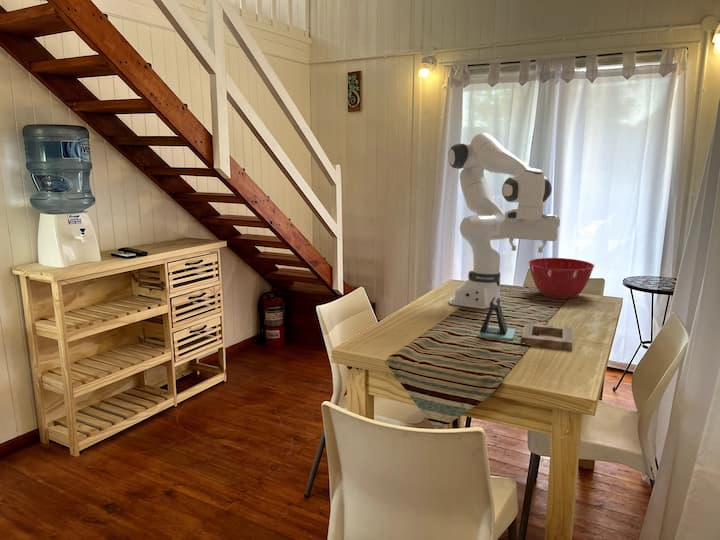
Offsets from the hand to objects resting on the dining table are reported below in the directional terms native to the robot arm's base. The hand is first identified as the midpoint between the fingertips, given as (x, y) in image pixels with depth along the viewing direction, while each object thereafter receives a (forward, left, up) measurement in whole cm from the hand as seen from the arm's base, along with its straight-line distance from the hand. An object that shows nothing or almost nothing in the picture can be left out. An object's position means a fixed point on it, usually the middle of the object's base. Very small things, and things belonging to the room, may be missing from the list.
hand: (526, 251), depth 199 cm
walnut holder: (+9, -14, -28) cm, 33 cm away
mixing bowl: (+12, +56, -29) cm, 64 cm away
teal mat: (-8, -14, -28) cm, 33 cm away
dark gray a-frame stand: (-9, -14, -28) cm, 32 cm away
